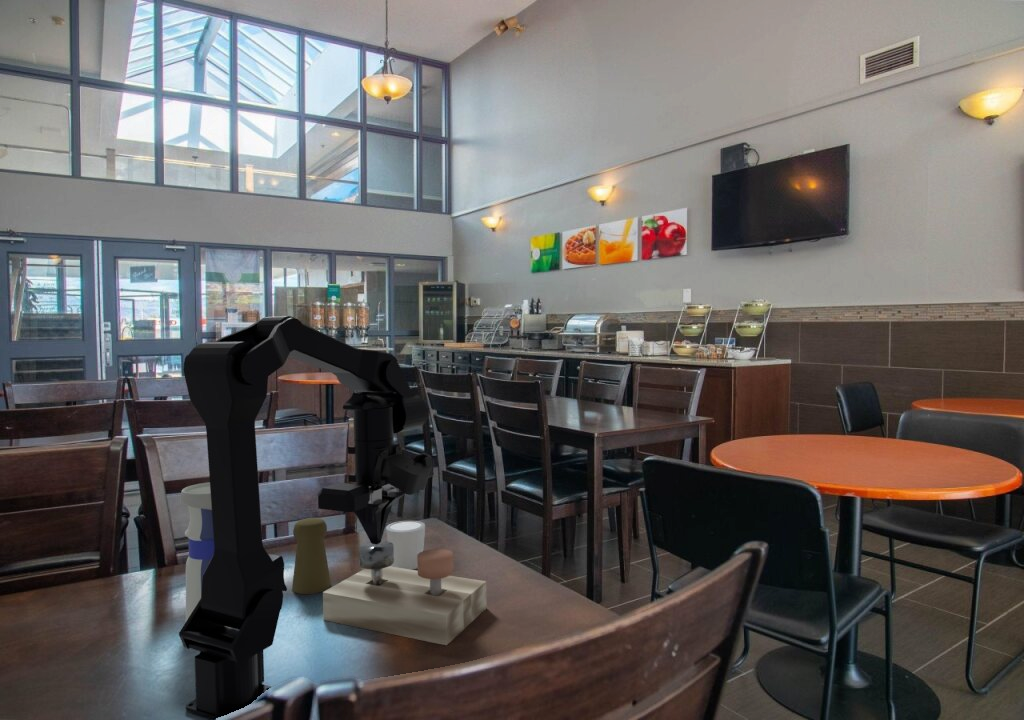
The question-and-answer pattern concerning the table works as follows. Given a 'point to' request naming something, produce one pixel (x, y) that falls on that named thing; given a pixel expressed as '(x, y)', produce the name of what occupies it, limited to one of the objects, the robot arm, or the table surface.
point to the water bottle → (197, 540)
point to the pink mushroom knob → (435, 567)
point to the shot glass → (406, 542)
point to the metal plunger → (376, 559)
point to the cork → (310, 557)
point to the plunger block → (406, 604)
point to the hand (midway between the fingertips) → (376, 543)
